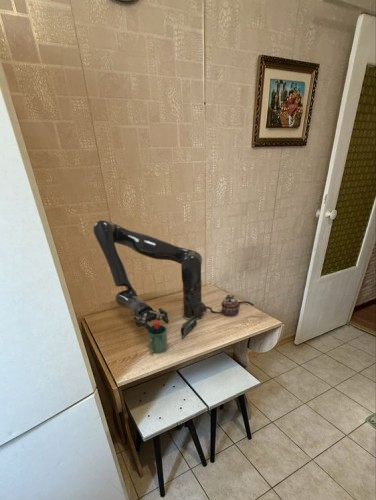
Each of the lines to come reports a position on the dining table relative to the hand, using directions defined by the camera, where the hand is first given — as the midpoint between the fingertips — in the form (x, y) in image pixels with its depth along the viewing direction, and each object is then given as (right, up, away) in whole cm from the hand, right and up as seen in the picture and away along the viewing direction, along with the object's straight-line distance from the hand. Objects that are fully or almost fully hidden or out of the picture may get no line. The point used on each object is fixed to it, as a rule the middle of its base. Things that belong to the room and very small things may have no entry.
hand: (158, 324), depth 115 cm
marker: (-1, -9, +8) cm, 12 cm away
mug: (-1, -11, +7) cm, 13 cm away
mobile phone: (+12, -2, +20) cm, 23 cm away
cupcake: (+34, +7, +34) cm, 49 cm away
